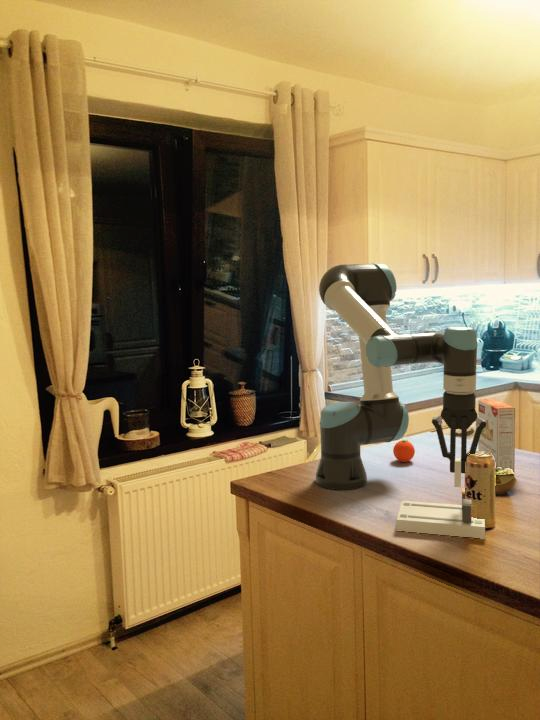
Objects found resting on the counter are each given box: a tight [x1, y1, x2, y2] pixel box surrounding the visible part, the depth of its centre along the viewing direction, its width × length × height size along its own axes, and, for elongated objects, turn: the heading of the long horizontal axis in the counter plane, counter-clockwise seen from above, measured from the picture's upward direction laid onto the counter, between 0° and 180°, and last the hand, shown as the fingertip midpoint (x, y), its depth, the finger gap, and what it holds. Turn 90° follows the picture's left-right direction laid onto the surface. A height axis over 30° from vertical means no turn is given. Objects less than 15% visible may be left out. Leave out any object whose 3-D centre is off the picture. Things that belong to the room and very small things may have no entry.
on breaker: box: [461, 498, 473, 522], centre depth 147 cm, size 2×3×4 cm
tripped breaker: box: [461, 487, 466, 500], centre depth 155 cm, size 2×3×4 cm
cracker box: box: [477, 398, 516, 473], centre depth 193 cm, size 14×6×21 cm, turn 4°
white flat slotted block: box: [395, 500, 486, 540], centre depth 153 cm, size 20×13×3 cm, turn 72°
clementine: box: [392, 439, 416, 463], centre depth 206 cm, size 8×7×7 cm
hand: (457, 485), depth 155 cm, fingers closed
